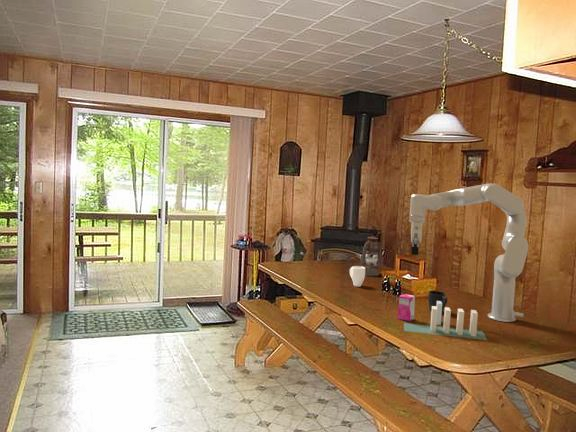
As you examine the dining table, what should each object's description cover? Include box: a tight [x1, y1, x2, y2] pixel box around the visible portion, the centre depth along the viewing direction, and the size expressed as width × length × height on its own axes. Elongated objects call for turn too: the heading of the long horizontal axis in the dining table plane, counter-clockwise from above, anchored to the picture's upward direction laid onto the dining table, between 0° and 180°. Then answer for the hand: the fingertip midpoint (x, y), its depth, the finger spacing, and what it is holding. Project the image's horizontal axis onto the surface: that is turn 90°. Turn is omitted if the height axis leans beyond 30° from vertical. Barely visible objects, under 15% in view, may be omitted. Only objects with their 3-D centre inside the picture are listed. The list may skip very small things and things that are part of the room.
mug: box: [427, 290, 448, 312], centre depth 247 cm, size 8×12×10 cm
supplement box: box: [397, 293, 416, 323], centre depth 231 cm, size 6×6×12 cm
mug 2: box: [349, 265, 366, 288], centre depth 300 cm, size 12×8×11 cm
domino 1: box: [429, 306, 437, 332], centre depth 215 cm, size 2×6×10 cm, turn 167°
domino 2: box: [436, 301, 443, 326], centre depth 227 cm, size 2×6×10 cm, turn 167°
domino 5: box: [468, 309, 479, 336], centre depth 212 cm, size 2×6×10 cm, turn 167°
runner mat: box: [403, 322, 488, 341], centre depth 215 cm, size 34×12×1 cm, turn 77°
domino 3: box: [442, 306, 452, 334], centre depth 214 cm, size 2×6×10 cm, turn 167°
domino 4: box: [455, 308, 465, 335], centre depth 213 cm, size 2×6×10 cm, turn 167°
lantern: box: [360, 223, 382, 277], centre depth 335 cm, size 11×16×35 cm
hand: (414, 253), depth 245 cm, fingers open, 9 cm apart
